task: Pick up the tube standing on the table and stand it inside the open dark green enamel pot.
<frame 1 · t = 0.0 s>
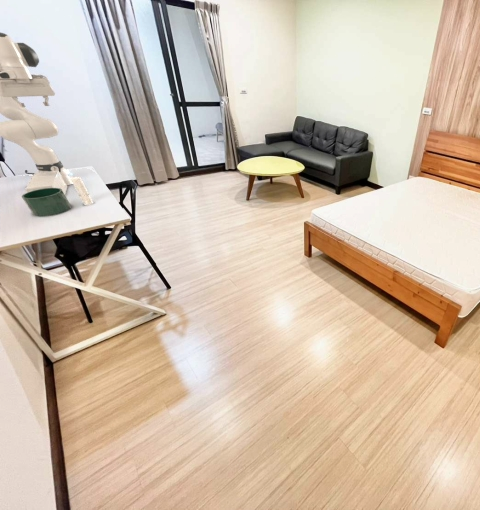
hand: (35, 106, 138), 48 cm above the table, tool pointing down, fingers open, 8 cm apart
cream long block: (53, 196, 161), on the table
tube: (89, 203, 155), on the table
pot: (53, 210, 146), on the table
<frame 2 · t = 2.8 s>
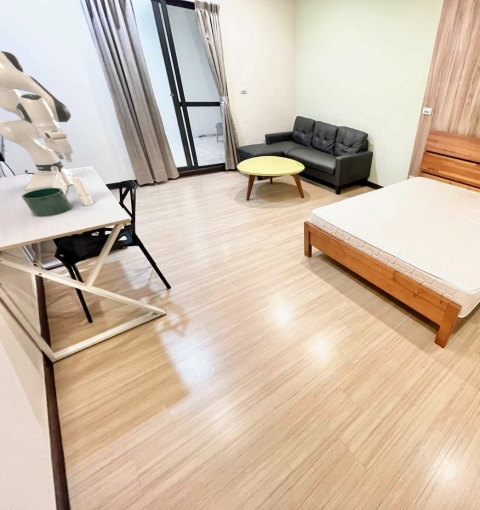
hand: (65, 160, 141), 24 cm above the table, tool pointing down, fingers open, 8 cm apart
nothing on the table moved.
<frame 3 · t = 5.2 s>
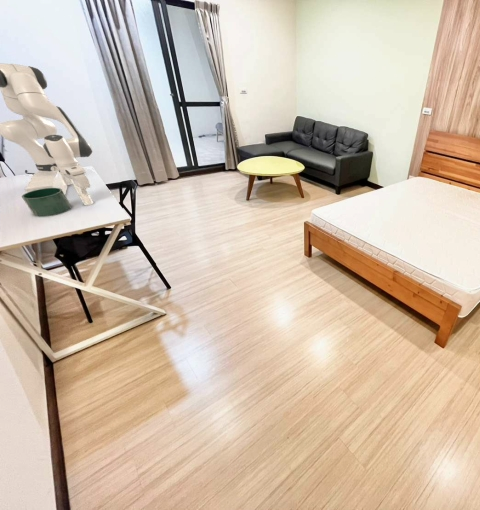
hand: (83, 192, 151), 7 cm above the table, tool pointing down, fingers closed on tube, 4 cm apart
tube: (88, 203, 155), on the table, touching gripper
everything else where it was.
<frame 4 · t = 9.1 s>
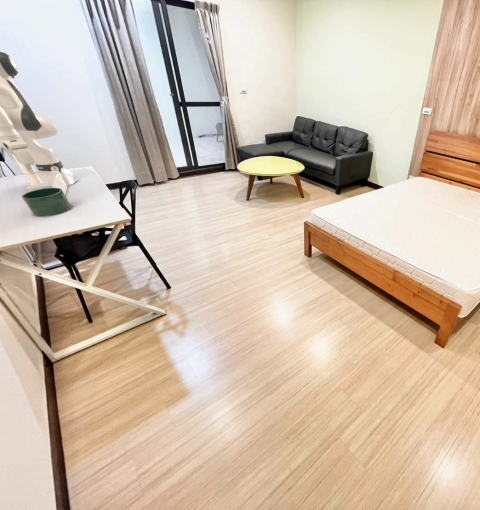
hand: (28, 171, 134), 22 cm above the table, tool pointing down, fingers closed on tube, 4 cm apart
tube: (37, 184, 138), point 15 cm above the table, touching gripper
everything else where it was.
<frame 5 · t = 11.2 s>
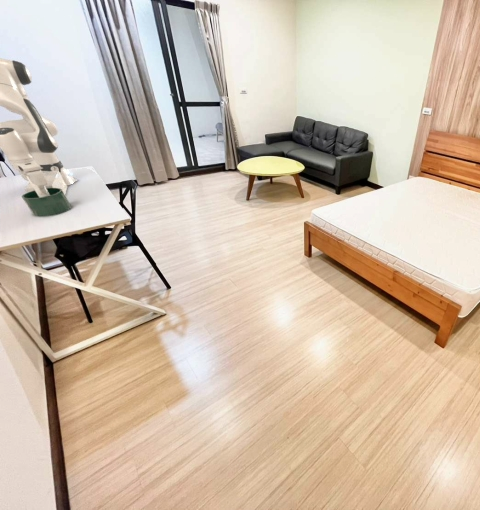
hand: (41, 190, 140), 11 cm above the table, tool pointing down, fingers closed on tube, 4 cm apart
tube: (49, 202, 144), point 4 cm above the table, touching gripper
everything else where it was.
when the fingers open (7 cm above the table, at t = 12.8 s): tube stays where it is, resting on pot.
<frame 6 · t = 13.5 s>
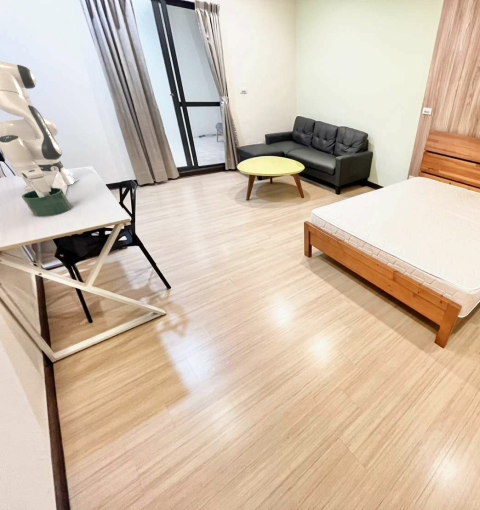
hand: (44, 197, 142), 8 cm above the table, tool pointing down, fingers open, 8 cm apart
tube: (53, 209, 146), resting on pot
everything else where it was.
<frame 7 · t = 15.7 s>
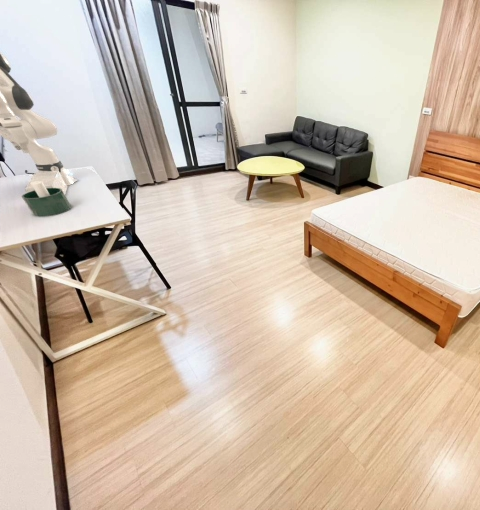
hand: (23, 151, 131), 31 cm above the table, tool pointing down, fingers open, 8 cm apart
nothing on the table moved.
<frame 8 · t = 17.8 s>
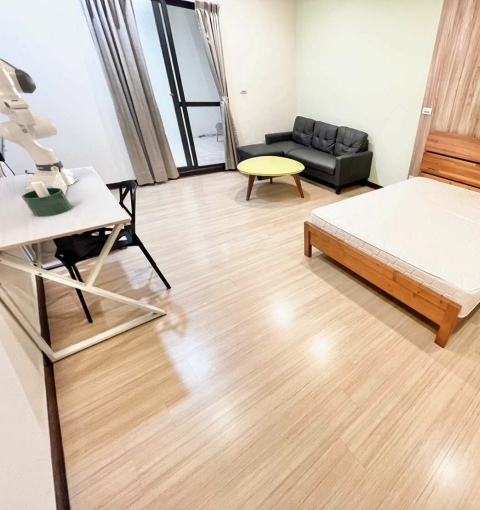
hand: (29, 134, 134), 37 cm above the table, tool pointing down, fingers open, 8 cm apart
nothing on the table moved.
at the end: tube inside the target area in the pot (0.2 cm from its centre), point 0.4 cm above the pot's base; tube touching pot; the gripper is holding nothing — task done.
